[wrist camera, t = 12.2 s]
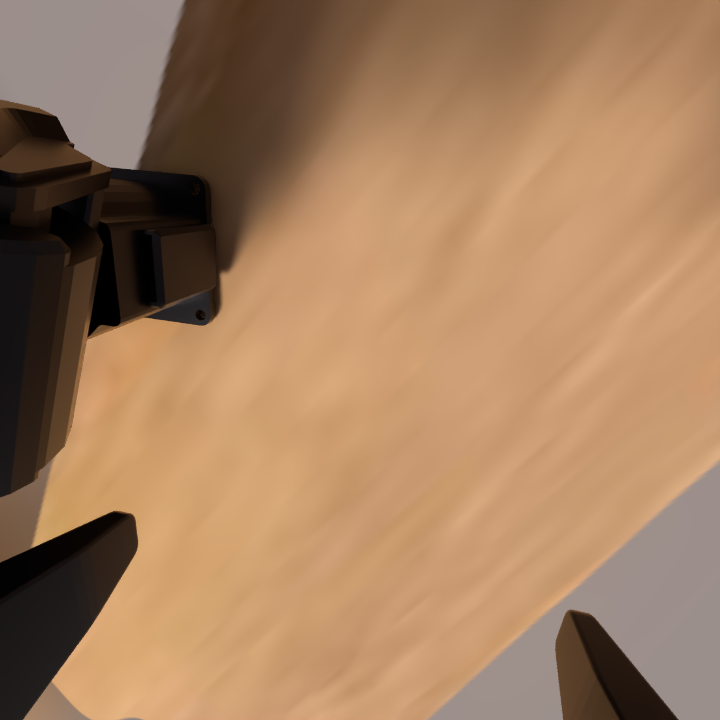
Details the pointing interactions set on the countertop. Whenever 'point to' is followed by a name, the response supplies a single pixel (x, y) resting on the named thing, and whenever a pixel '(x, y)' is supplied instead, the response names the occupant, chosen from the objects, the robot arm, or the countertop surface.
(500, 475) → the countertop surface
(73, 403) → the robot arm
